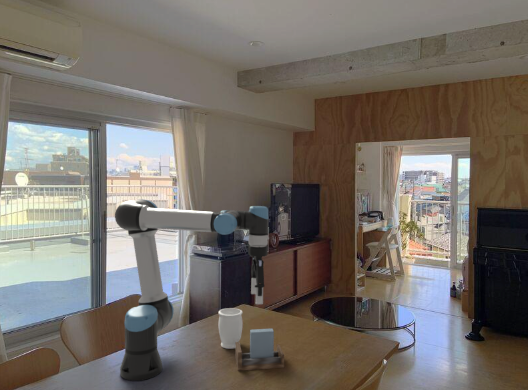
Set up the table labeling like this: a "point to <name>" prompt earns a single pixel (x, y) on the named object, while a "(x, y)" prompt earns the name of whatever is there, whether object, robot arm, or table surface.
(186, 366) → the table surface
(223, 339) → the jar
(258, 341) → the blue-gray rectangular block
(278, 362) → the wooden rod frame
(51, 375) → the table surface
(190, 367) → the table surface
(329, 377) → the table surface
